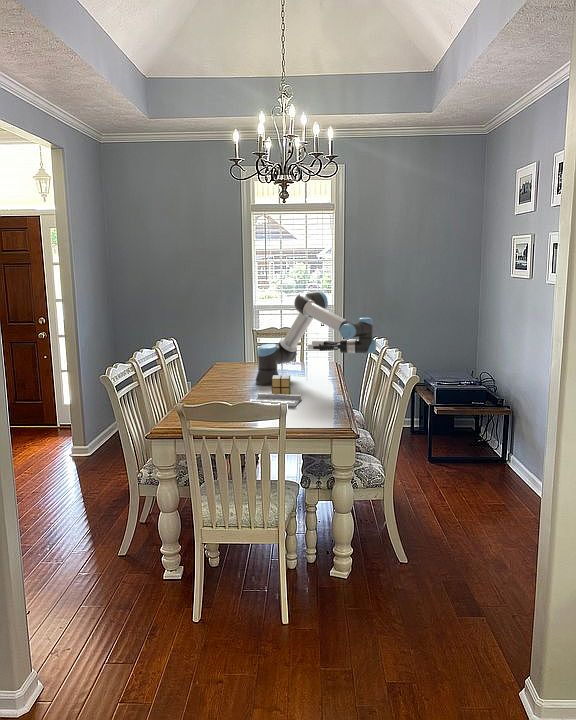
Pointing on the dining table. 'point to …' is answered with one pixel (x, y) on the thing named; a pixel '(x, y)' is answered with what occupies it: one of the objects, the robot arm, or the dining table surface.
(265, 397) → the rail base
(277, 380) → the puzzle cube
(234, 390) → the dining table surface
